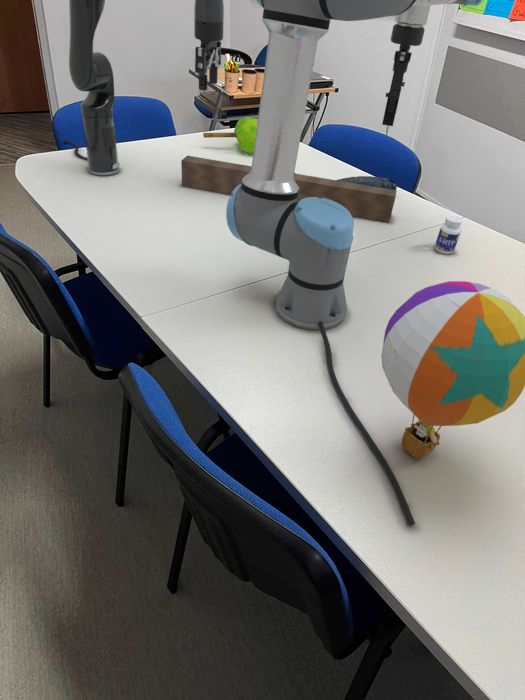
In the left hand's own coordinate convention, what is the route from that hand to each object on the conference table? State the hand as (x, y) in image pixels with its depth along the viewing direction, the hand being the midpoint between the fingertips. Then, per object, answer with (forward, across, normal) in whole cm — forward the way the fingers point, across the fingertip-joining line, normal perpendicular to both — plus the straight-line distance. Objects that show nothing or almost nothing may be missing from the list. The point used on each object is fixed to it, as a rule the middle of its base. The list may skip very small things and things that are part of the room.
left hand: (208, 86), depth 144 cm
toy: (+28, +90, +67) cm, 115 cm away
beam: (+29, 0, +25) cm, 38 cm away
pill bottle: (+28, +14, +73) cm, 79 cm away
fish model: (+29, -18, +47) cm, 58 cm away
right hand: (+1, 0, +51) cm, 51 cm away
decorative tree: (+29, -40, 0) cm, 50 cm away
